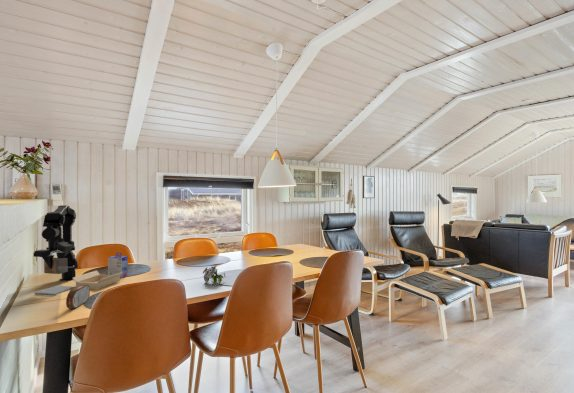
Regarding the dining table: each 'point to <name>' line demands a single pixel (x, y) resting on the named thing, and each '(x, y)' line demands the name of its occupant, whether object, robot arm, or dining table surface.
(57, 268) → the walnut block
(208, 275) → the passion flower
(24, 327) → the dining table surface
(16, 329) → the dining table surface
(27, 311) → the dining table surface
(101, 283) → the beige tray
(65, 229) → the robot arm
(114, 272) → the ink cartridge box
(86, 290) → the tin
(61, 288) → the felt pad
